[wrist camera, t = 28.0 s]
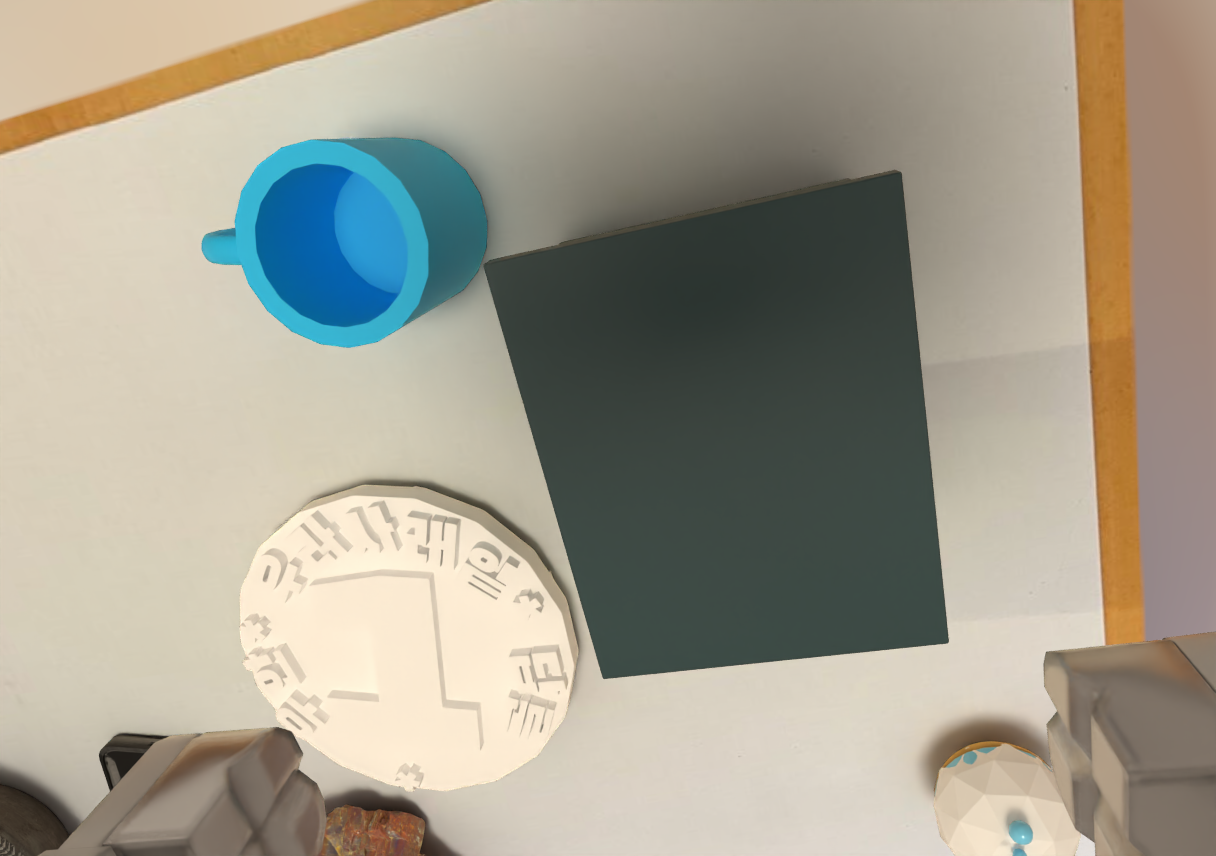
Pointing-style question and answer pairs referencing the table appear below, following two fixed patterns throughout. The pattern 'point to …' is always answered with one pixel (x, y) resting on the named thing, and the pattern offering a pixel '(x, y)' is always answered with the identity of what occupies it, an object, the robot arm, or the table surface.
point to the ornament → (1001, 804)
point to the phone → (123, 755)
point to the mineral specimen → (372, 833)
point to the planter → (27, 825)
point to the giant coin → (409, 637)
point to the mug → (354, 236)
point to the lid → (735, 429)
